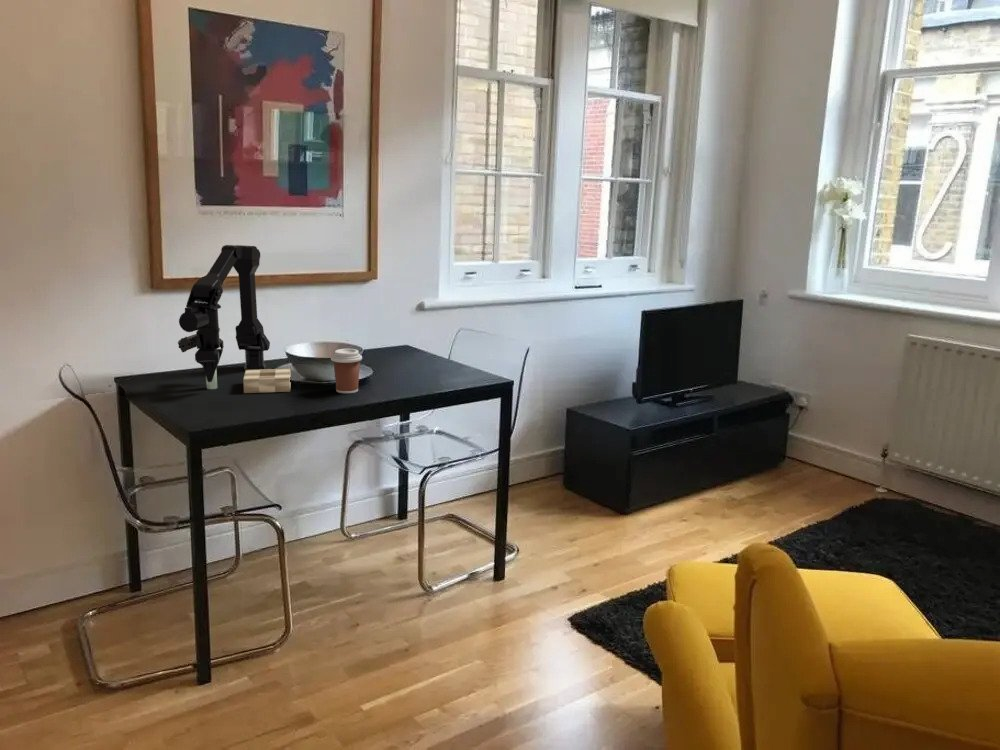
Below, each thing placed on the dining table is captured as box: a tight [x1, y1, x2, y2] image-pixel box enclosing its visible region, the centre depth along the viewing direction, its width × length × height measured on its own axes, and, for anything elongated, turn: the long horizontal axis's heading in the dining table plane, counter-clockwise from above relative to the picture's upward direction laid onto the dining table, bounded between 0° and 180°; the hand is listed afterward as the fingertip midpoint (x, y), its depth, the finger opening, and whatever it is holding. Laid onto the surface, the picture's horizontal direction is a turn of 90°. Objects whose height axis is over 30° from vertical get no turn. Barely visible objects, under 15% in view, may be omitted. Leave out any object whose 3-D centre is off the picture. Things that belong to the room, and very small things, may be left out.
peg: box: [205, 369, 218, 390], centre depth 247 cm, size 3×3×9 cm
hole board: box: [242, 368, 292, 394], centre depth 250 cm, size 12×13×4 cm
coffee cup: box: [330, 348, 363, 394], centre depth 248 cm, size 9×9×12 cm
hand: (211, 377), depth 247 cm, fingers open, 9 cm apart
